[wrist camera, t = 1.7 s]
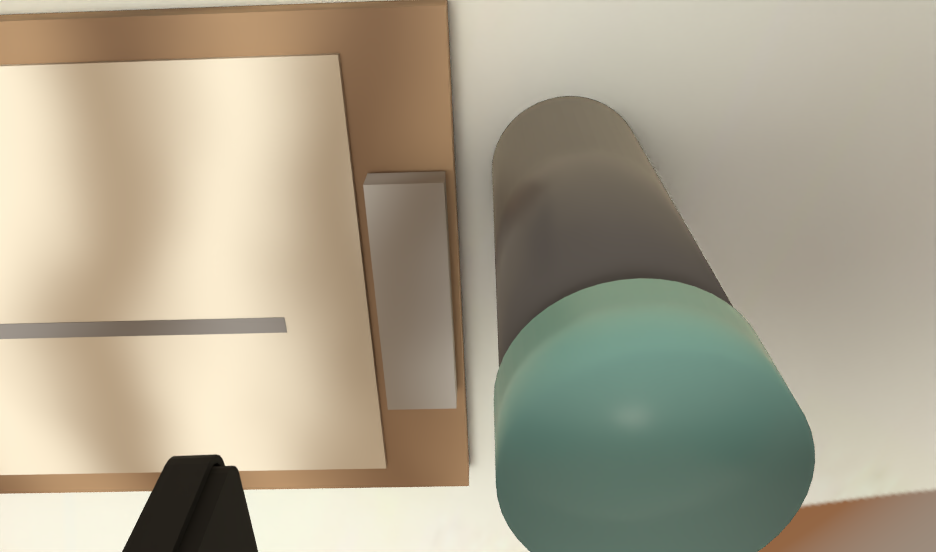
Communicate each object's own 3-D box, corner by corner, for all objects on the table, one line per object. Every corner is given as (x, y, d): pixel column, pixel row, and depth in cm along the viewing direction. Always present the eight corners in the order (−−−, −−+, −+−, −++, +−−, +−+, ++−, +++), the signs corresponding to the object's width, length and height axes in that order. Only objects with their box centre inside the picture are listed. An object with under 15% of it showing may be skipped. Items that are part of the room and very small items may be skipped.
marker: (649, 90, 19) (844, 346, 9) (637, 236, 21) (785, 586, 11) (486, 95, 19) (492, 353, 9) (490, 241, 21) (498, 589, 11)
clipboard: (447, -2, 18) (443, 12, 17) (469, 464, 25) (468, 508, 24) (-268, 24, 19) (-345, 40, 17) (-50, 473, 26) (-88, 517, 24)
